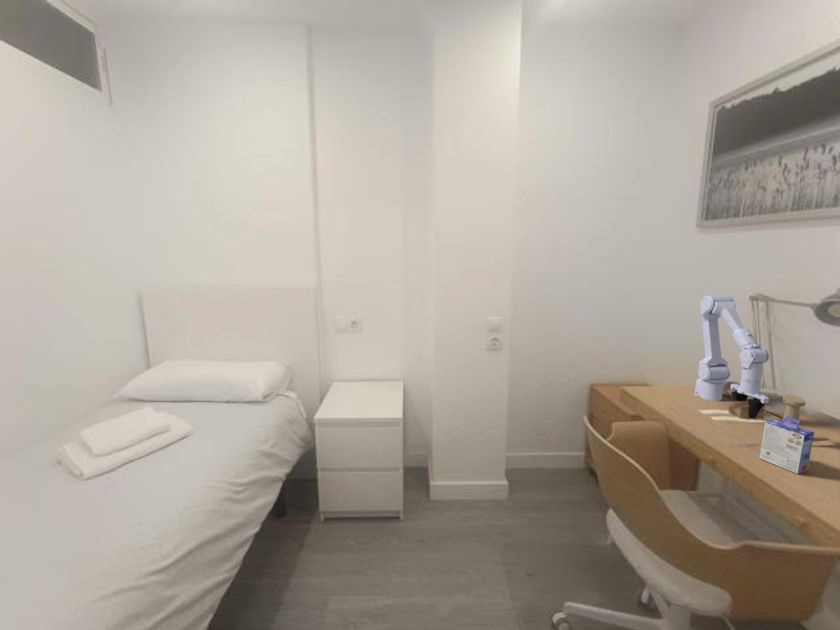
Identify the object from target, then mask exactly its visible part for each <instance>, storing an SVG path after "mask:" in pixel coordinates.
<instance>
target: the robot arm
mask: <svg viewBox="0 0 840 630" xmlns="http://www.w3.org/2000/svg"><path fill="white" fill-rule="evenodd" d="M699 307H700V316H701V327H702V336H703V338H702V339H703V347H704V348H703V349H704V358H703V359H701V360H700V361H699V362H698V369H697V374H698V376H699V378H697V379H696V381H695V389H694V396H700V397H701V398H702V399H704V400H707V401H711V402H712V401H713V402H721V401H722V400H723V394H724V384H725V383H726V382H727V380H728V379H730V377H731V370H730V367H729V364H728V361H727V360H726V359H724V358H723V357H722V350H721V349H722V348H721V339H720V331H719V330H720V329H719V319H720V318H721V317H723V319H724V320H725V322H726V323H727V324H728V326H729V327H730V329H731V330H732V332H733V333H732V339H733V341H734V342H735V344H736V346H737V348H738V349H739V351H740V353H738V354H739V359H740V362H741V363H740V365H741V374H740V381H739V382H740V383H739V384H738V383H731V384H730V390H733V391H731V393H730V394H731V396H732V398H733V400H734V401H748V404H749V417H750V418H756V416H757V414H758V412H759V411H760V409H761V408H762V407H763V406H766V404H769V402H770V397H767V396H766V395H765V394H763V393H762V392H760V390H761V382H762V376H763V369H764V364H765V363H766V362H768V361H769V358H770V354H769V351H768V350H767V348H766V347H763V346H762V345H761V344H758V341H757V340H756V338H755V337H754V334H753V333H752V331H751V330H750V329H746V328H745V327H744V325H743V323H742V321H741V319H740V317H739V315H738V313H737V310H736V307H737V303H736V301H735V299H734V297H733V296H731V295H729V294H725V295H705V296H704V297H702V299H701V300H700V302H699ZM748 397H749V398H748Z"/></svg>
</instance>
